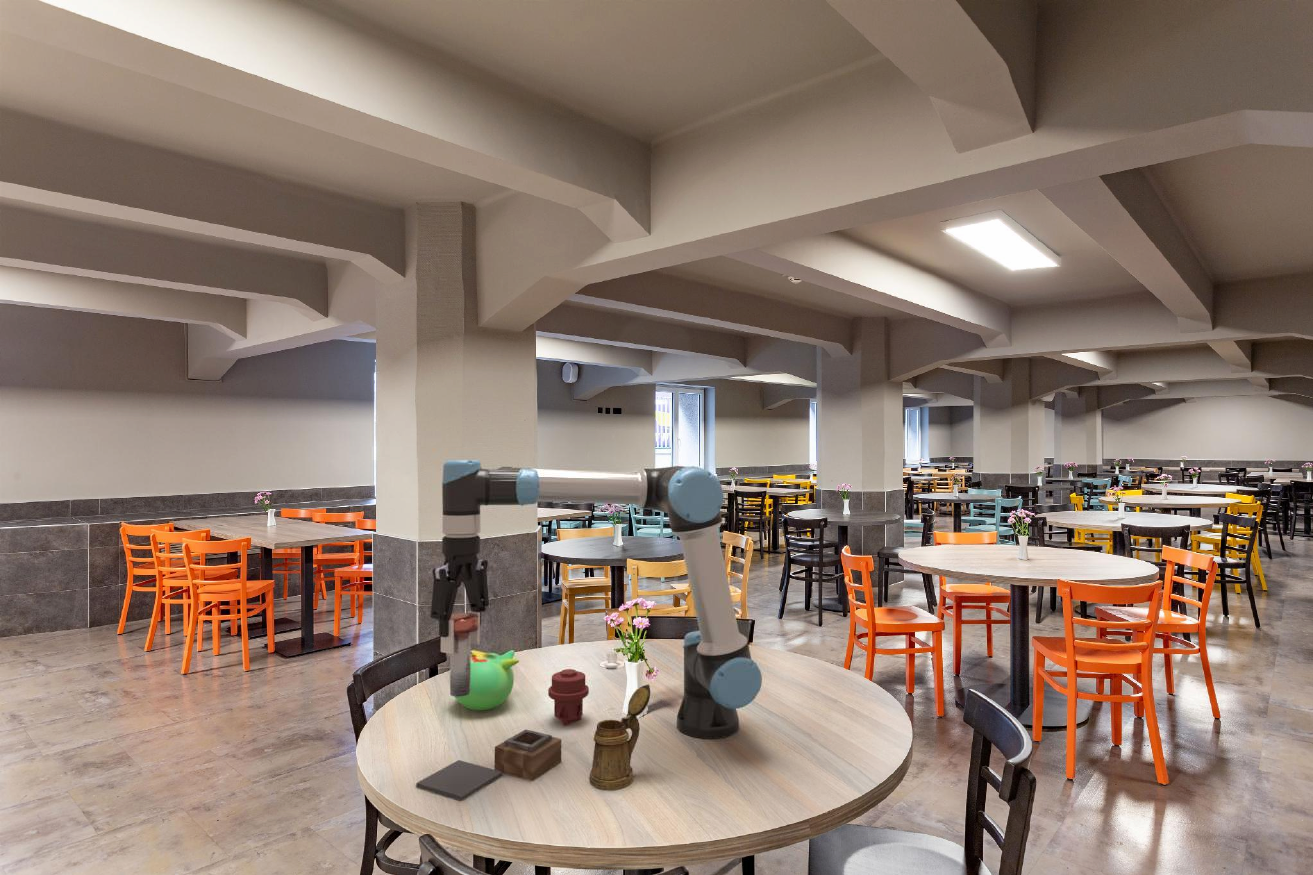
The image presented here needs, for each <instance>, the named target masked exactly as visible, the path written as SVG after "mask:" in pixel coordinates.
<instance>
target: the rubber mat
mask: <svg viewBox="0 0 1313 875" xmlns="http://www.w3.org/2000/svg"><path fill="white" fill-rule="evenodd" d="M503 774H504V773H503V772H501V771H498V770H494V769H493V768H489V767H486V766H483V765H478V764H475V763H471V762H467V761H464V760H461V759H458V760H456V761H454V762H453V763H451V764H449V765H446V766H445V767H443V768H441V769H440V770H438V771H436V772H434V773H432V774H430V775H428V776H426V777H425V778H423V779H422V780H419V781H417V782H416V783H415V786H416V788H418V789H420V790H424V791H427V792H431V793H434V794H438V795H441V796H445V797H448V798H451V799H454V800H458V801H460V802H461V801H464V800H465V799H467V798H469V797H471V796H472V795H473V794H475V793H477V792H479V791H481V789H483V788H485V787H487V786H488V785H489V784H491V783H493V782H495V781H497V780H499V779H500V778H501V777H503Z"/></svg>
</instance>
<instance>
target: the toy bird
mask: <svg viewBox="0 0 1313 875" xmlns="http://www.w3.org/2000/svg"><path fill="white" fill-rule="evenodd" d="M514 656H515V650H512V649H511V650H509V651H506V653H504V654H502V655H500V654H497V653H494V652H491V651H479V650H473V649H472V650H471V681H470V694H469V695H466V696H461V697H455V696H454V697H455V700H457V701H458V702H459V704H460V705H462V706H463V707H466V708H467V709H470V710H475V711H487V710H492V709H495V708H497V707H499V706H500V705H501V704H503V703H504V702H505V701H506V700H507V699H508V697H509V696H510V694H511V693H512V690H513V688H514V684H515V683H514V681H515V675H514V670H513V667H514V666H515V665H517V664H518V663H519V662H520V659H518V658H514Z"/></svg>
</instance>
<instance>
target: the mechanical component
mask: <svg viewBox="0 0 1313 875" xmlns="http://www.w3.org/2000/svg"><path fill="white" fill-rule="evenodd" d="M547 692H548V694H547V696H548V697H549V698H550V699H552V700H553V701H554V702H553V703H554V705H553V706H554V707H553V708H554V709H553V710H554V711H553V712H554V714H553V715H554V717H555V718H556V719H558V720H559V721H560V720H561V725H562V726H563V727H567V726H569V725H571V724H573V723H575V722H580V721H582V720H583V719H582V717H583V715H584V714H583V712H584V711H583V708H584V706H583V705H584V703H583V701H584V699H585V698H586V697H588V696H589V694H590V693H589V692H590V688H589V686H588V685H587V684H586V674H585V673H584V672H583V671H579V670H576V669H572V668H568V669H567V668H566V669H562V670H561V671H557V672H555V673H554V674H552V675H551V685H550V686H549V688H548V691H547Z"/></svg>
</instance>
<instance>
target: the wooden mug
mask: <svg viewBox="0 0 1313 875" xmlns="http://www.w3.org/2000/svg"><path fill="white" fill-rule="evenodd" d="M650 687H651V686H650V684H644V685H642V686H640V687H638V688H637V689H636V690H635V691H634V692H633V693H632V695H631V697H630V699H629V700H628V705H627V714H626V716H624V717H622V718H621V721H620V720H616V719H605V720H602V721H599V722H597V724H596V730H595V732H594V735H593V741H594V748H593V756H592V757H593V758H592V765H591V769H590V772H589V777H588V779H589V780H588V781H589V784H591V786H593V787H595V788H598V789H601V790H607V791H608V790H611V791H612V790H619V789H623V788H625V787H627V786H628V785H631V783H632V782H633V780H634V771H633V767H632V765H631V762H632V761H631V760H632V754H633V751H634V749H635V746H636V744H637V741H638V739H639V735H640V722H639V719H638V717H639V716H640V715H641V714H643V712H644V711H645V709H646V708H647V707H648V705H649V702H650V697H651V688H650ZM628 729H629V730H631V736H630V735H629V732H628ZM629 736H630V738H629Z"/></svg>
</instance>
